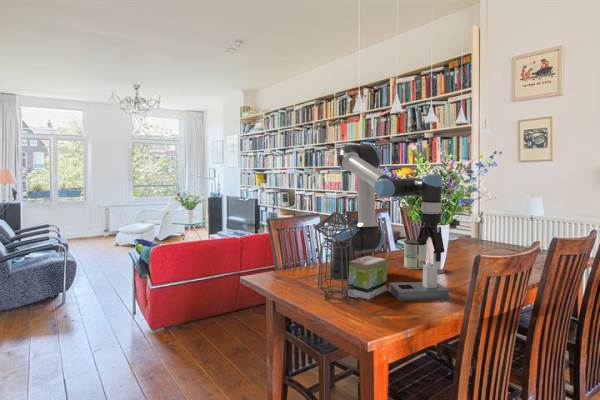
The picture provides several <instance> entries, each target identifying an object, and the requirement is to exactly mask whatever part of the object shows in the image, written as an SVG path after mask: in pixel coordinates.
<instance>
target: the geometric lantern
mask: <svg viewBox="0 0 600 400" xmlns="http://www.w3.org/2000/svg"><path fill="white" fill-rule="evenodd" d="M336 219H337V222H336ZM349 221H350V222H349ZM326 223H327V226H326V227H325V224H326ZM336 225H338V226H337V227H336ZM340 225H343V227H344V229H339V228H340ZM357 225H358V222H356V221H354V220H353V219H351V218H349V217H347V216H345V215H343V214H341V213H340V212H339V211H333V212H331V214H329V215H328V216H327V217H325V218H324V219H322V220H320V222H318V223H316V224H315V225H314V226H312V227H313V228H314V229H315V230H316V231H317V232H318V239H319V246H320V248H319V261H318V262H319V264H318V276H317V277H318V278H317V287H318V288H319V289H320V290H321V291H322V292H323V293H324V298H331V299H341V300H343V299H345V298H346V297H347V296H348V290H349V289H350V288H351V287H352V286H350V287H349V279H348V263H347V248H346V247H348V246H349V245H350V261H351V254H352V261H353V251H352V238H353V233H354V231H355V229H356V227H357ZM329 226H331V227H332V229H329ZM347 227H348V228H347ZM351 227H352V228H351ZM345 228H346V229H345ZM349 228H350V229H349ZM352 229H353V232H352ZM338 230H339V231H341V232H339V233H337V234H336V232H337V231H338ZM346 230H350V237H351V240H350V238H349V236H348V234H347V233H346V234H347V236H348V238H349V240H350V241H349V240H348V241H338V240H337V239H336V237H335V236H336V235H338V234H340V233H342V232H344V231H345V232H346ZM334 231H336V232H335V234H334V235H333V232H334ZM327 232H331V235H328V234H327ZM321 234H323V235H324V236H325V237H326V239H325V241H323V242H322V241H321ZM329 238H330V240H329ZM333 238H335V240H336V241H335V242H337V243H338V244H339V242H349V245H348V243H347V245H346V247H341V245H340V244H339V246H340V247H333V240H332V239H333ZM329 243H330V245H329ZM325 244H326V245H325ZM323 248H326V252H325V253H326V255H325V273H324V274H325V275H324V279H323V265H324V264H323V262H324V261H323V257H324V256H323V255H324V254H323V252H324V251H323V250H324V249H323ZM329 248H330V267H329V270H330V275H329V278H327V271H328V270H327V268H328V252H329V251H328V250H329ZM333 248H341V268H342V279H339V278H334V277H331V275H332V260H333ZM342 248H345V253H346V269H347V279H343V257H342ZM332 280H334V281H341V286H337V285H335V286H334V285H333V286H332ZM328 281H329V284H328ZM324 282H325V283H326V285H327V287H323V284H324ZM344 282H346V283H347V284H346V286H344ZM339 288H340V289H339ZM328 294H332V295H333V294H334V295H341V297H339V296H337V297H336V296H328Z"/></svg>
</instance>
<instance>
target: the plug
mask: <svg viewBox="0 0 600 400" xmlns="http://www.w3.org/2000/svg"><path fill="white" fill-rule="evenodd" d="M422 282H423V286H424V287H425V288H437V283H438V269H433V263H431V262H427V263H424V264H423V269H422Z"/></svg>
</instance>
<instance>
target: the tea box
mask: <svg viewBox="0 0 600 400" xmlns="http://www.w3.org/2000/svg"><path fill="white" fill-rule="evenodd" d="M387 280H388V259H386V258H381V257H377V256H371V255H366V256H363V257H360V258H356V260H353V261H350V262H349V287H350V286H352V287H351V288H350V289H349V290H348V293H347V296H348V297H351V298H354V299H358V300H359V298H360V299H365V300H371V299H372V298H374V297H376V296H379V295H381V294H382V293H384V292H386V291H387Z"/></svg>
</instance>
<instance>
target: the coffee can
mask: <svg viewBox="0 0 600 400" xmlns="http://www.w3.org/2000/svg"><path fill="white" fill-rule="evenodd" d="M417 240H418V239H410V238H409V239H404V240H403V244H404V245H403V246H404V247H403V253H404V254H403V257H404V258H403V267H404V268H406V269H410V270H423V264H425V263H424V262H425V261H420V260H419V252H420V245H419V242H417Z"/></svg>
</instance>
